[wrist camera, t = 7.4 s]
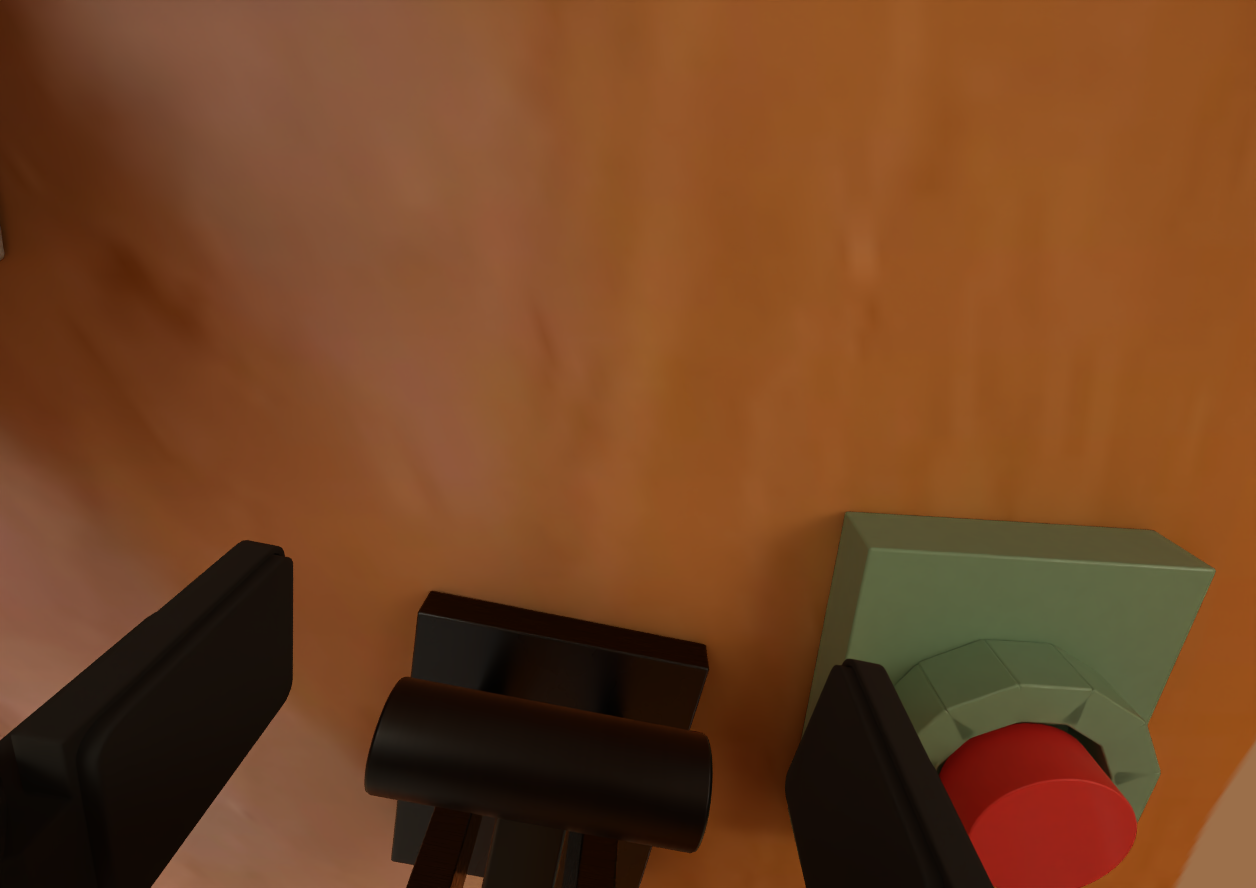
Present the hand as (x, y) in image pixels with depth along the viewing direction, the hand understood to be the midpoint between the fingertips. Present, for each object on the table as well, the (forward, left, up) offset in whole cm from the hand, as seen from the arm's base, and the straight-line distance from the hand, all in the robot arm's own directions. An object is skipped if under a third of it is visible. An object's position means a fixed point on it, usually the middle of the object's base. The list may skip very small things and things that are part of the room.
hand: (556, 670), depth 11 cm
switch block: (-4, +13, -8) cm, 16 cm away
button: (-4, +13, -4) cm, 14 cm away
